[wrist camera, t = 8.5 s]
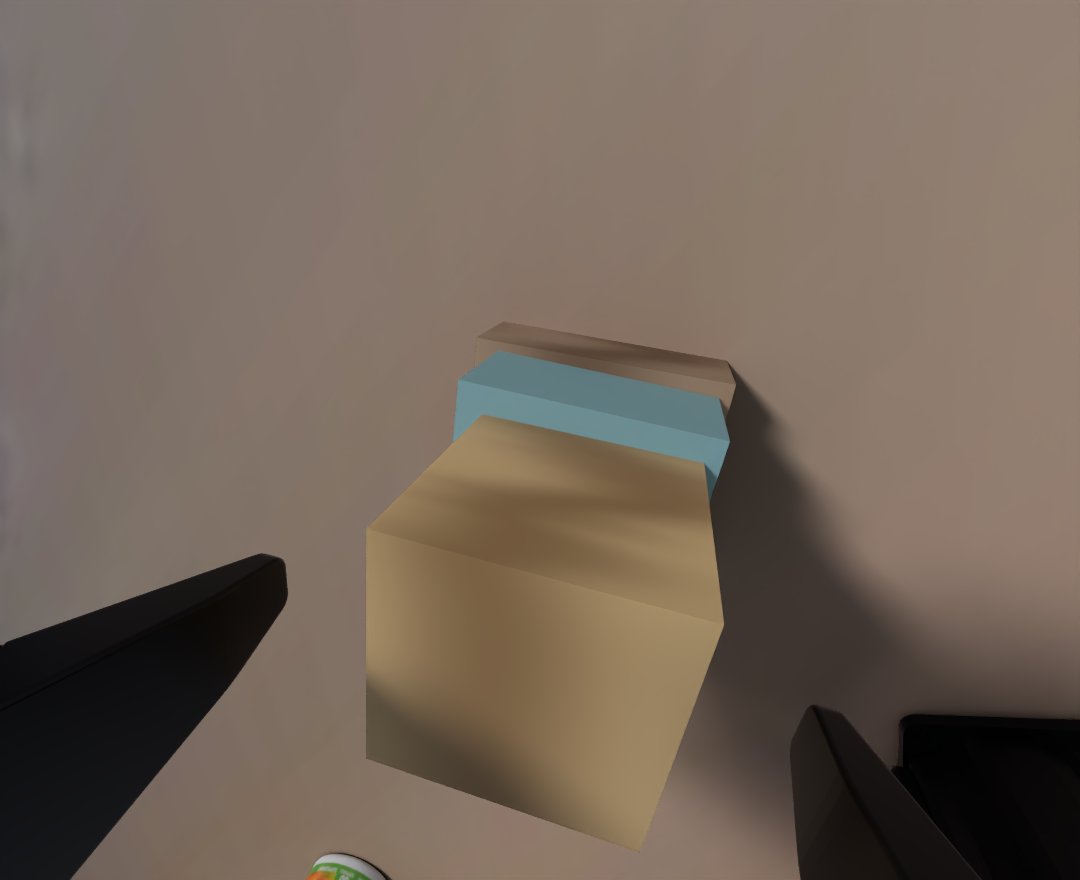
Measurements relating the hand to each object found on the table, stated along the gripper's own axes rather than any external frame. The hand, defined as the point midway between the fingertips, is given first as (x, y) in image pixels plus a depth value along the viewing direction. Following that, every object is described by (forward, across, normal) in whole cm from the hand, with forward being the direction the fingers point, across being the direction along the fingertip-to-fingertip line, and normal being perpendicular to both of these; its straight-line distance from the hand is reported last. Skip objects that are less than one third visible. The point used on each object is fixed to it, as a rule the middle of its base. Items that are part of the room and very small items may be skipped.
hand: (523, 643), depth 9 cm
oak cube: (+4, 0, 0) cm, 4 cm away
